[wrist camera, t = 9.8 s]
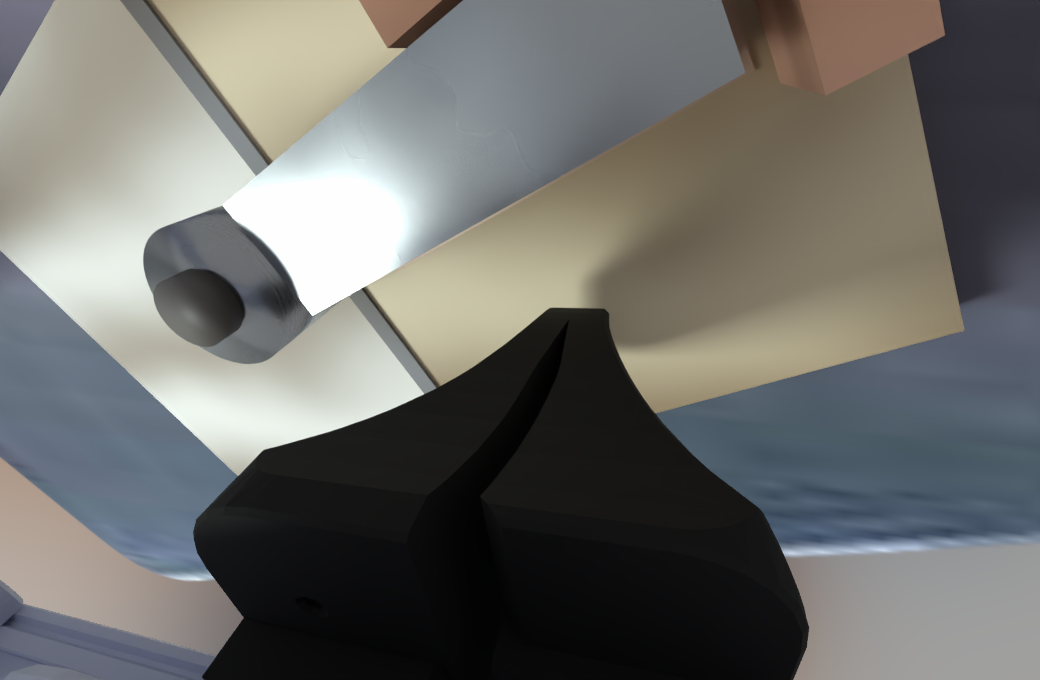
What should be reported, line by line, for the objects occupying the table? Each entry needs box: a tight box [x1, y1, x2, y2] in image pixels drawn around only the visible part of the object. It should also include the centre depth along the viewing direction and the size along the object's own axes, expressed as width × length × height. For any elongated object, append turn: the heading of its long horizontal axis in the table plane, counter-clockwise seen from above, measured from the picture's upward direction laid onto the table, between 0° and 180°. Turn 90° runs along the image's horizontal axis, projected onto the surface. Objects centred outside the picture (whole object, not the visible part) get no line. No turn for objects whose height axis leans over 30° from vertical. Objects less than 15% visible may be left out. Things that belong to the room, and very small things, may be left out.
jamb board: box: [0, 0, 964, 476], centre depth 10 cm, size 15×23×5 cm, turn 121°
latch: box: [143, 0, 745, 364], centre depth 8 cm, size 11×3×3 cm, turn 121°
